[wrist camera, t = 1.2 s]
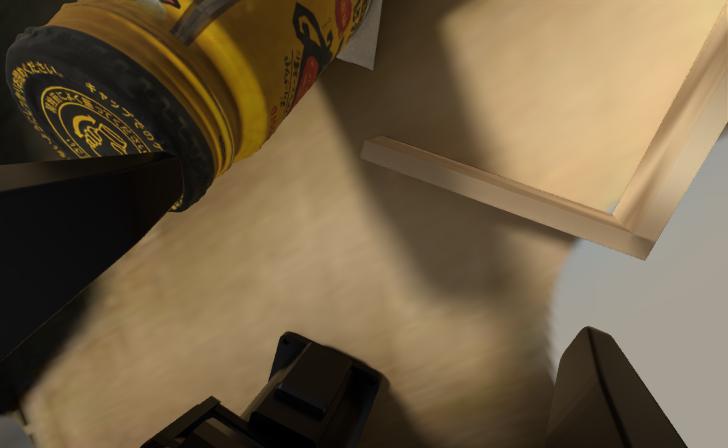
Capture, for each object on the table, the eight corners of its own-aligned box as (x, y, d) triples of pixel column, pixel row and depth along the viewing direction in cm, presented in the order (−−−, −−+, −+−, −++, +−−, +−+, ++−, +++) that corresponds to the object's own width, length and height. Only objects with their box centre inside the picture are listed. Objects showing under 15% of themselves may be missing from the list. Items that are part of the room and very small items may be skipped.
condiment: (374, 68, 19) (238, 266, 12) (218, 20, 21) (14, 176, 14) (399, -129, 14) (170, 33, 7) (181, -179, 15) (-209, -87, 8)
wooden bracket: (621, 237, 18) (644, 260, 15) (377, 151, 20) (359, 158, 18) (846, -164, 13) (940, -236, 10) (490, -220, 15) (490, -291, 13)
